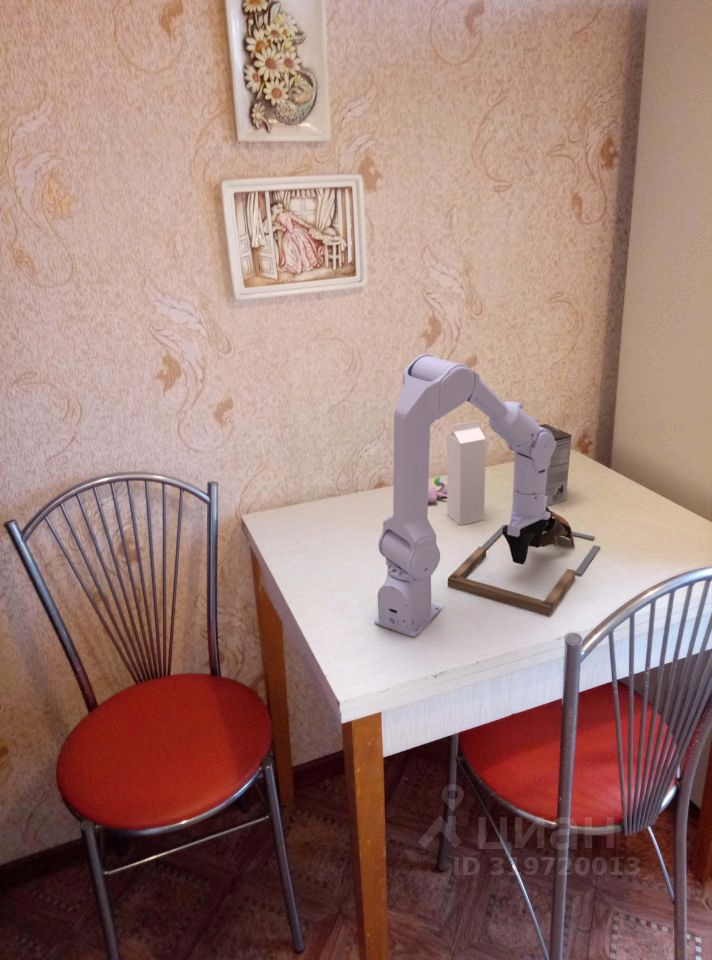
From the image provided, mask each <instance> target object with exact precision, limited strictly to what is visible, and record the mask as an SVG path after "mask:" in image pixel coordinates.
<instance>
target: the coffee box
mask: <svg viewBox="0 0 712 960" xmlns="http://www.w3.org/2000/svg"><path fill="white" fill-rule="evenodd" d="M538 425H539V426H540V427H543V428H546V429H548V430H550V431H551V433H552V435H553V436H554V439H555V441H556V442H557V443H556V447H555V450H554V452H553V454H552V456H551V459H550V464H549V467H548V468H547V477H546V493H545V496H546V497H547V507H548V506H551V505H554V504H558V503H562V502H565V501H567V492H568V491H567V490H568V482H569V481H568V478H569V470H570V468H569V467H570V456H571V446H572V445H571V444H572V434H571V433H568V432H566V431H563V430H562V429H561V430H560V429H559V428H556V427H553V426H551V425H549V424H546V423H543V424H538Z"/></svg>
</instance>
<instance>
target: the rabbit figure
mask: <svg viewBox="0 0 712 960" xmlns="http://www.w3.org/2000/svg"><path fill="white" fill-rule="evenodd" d="M440 479H441V477H439V476H438V477H435V479H434V481H433V483H434V485H435V486H429V485H428V503H433V502H436V501H437V500H438V498H442V497H444V498H447V484H445V483H444V482H442V481H441V480H440ZM436 486H437V487H440V488H439V489H437V490H436Z"/></svg>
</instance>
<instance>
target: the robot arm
mask: <svg viewBox="0 0 712 960" xmlns="http://www.w3.org/2000/svg"><path fill="white" fill-rule="evenodd" d="M466 402H467V403H468V402H469V404H471V405H472V406H473V407H475V408H476V409H478V410H479V411H481V412H482V413H483V414H484V415H485V416H486V417H488V426H489V427H490V429H491V430H492V431H493V432H495V433H496V434H497V435H498V436H499V437H500V438H502V439H503V440H505V442H506V444H507V448H508V449H509V451H513V452H514V458H513V459H514V463H513V464H514V465H513V485H512V487H513V489H512V507H511V509H510V520H509V523H508V524H505V525H506V526H505V527H504V528H503V529H502V536H503V537H504V538H505V540H506V542H507V545H508V548H509V551H510V556H511V558H512V560H511V561H512V562H513V563H515V564H519V565H525V563H526V561H527V558H528V553H529V547H532V548H540V547H539V544H540V542H541V538H542V535H543V534H544V533H545V532H544V529H545V526H546V524H547V522H548V520H549V519H550V517H551V516H552V512H551V511H552V510H550V509H549V510H546V508H545V507H546V506H547V497H546V496H545V493H546V477H547V468H548V467H549V464H550V459H551V456H552V454H553V452H554V450H555V447H556V443H557V442H556V441H555V439H554V436H553V435H552V433H551V431H550V430H548V429H546V428H543V427H540V426H539V425H540V424H538V420H537V418H536V417H533V416H530V415H528V413H526V412H525V411H524V408H525V406H524V405H523V404H522V403H521V402H518V401H510V400H508V401H507V400H506V401H503V400H502V399H501V398H500V397H499V395H497V394H496V393H495V392H494V391H493V390H492V389H491V387H489V385H488V384H487V383H485V381H484V380H483V379H482V378H481V377H480V374H479V373H478V372H477V371H474V370H473V369H472V368H471V367H470V366H469V365H467V364H465V363H457V362H454V361H451V360H450V361H449V360H446V359H443V358H439V357H435V356H434V355H431V354H420V355H418V356H417V357H415V358H414V359H413V360H412V361H410V363H409V364H408V365H407V366H406V367H405V369H403V371H402V389H401V392H400V394H399V397H398V401H397V403H396V404H395V408H394V409H395V410H394V414H393V416H394V417H393V501H392V502H393V506H392V507H393V508H392V509H393V511H392V512H393V513H392V515H390V516H388V518H385V520H383V521H382V524H383V525H382V532H381V535H380V537H379V538H378V539H379V540H378V551H379V553H380V555H381V556H383V557H384V558H385V565H386V566H387V571H386V572H387V573H386V574H387V575H386V578H385V581H384V583H383V584H382V586H381V587H380V588H379V589H378V592H377V609H378V610H377V611H378V613H377V614H378V617H376V618H375V619H374V624H375V625H379V626H381V627H383V628H387V629H390V630H393V631H395V632H398V633H401V634H404V635H407V636H410V637H414V638H415V637H416V636H418V635H419V634H420V633H421V631H422V630H424V628H426V626H427V625H428V624H429V623H430V622H431V621H432V619H434V617H435V616H436V615H438V613H439V612H440V611H441V610H442V607H441V606H440V605H437V604H434V603H432V575H433V574H434V572H435V571H436V569H437V568H438V566H439V563H440V560H441V551H440V549H439V547H438V545H437V535H436V532H435V529H434V527H432V524H431V523H430V520H429V519H428V511H429V510H428V509H429V506H428V505H429V502H428V486H429V481H430V480H429V475H430V474H429V473H430V444H431V443H430V442H431V441H430V440H431V439H430V438H431V425H432V424H433V423H435V421H438V420H440V419H441V418H443V417H445V416H446V415H448V414H449V413H452V411H454V410H455V409H457V408H459V407H460V406H462V405H463V404H464V403H466ZM547 507H548V506H547Z"/></svg>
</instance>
